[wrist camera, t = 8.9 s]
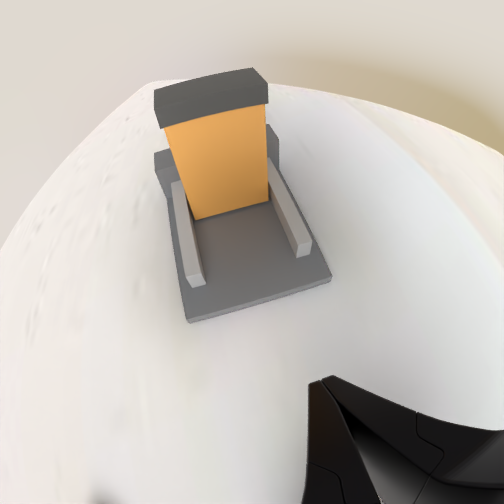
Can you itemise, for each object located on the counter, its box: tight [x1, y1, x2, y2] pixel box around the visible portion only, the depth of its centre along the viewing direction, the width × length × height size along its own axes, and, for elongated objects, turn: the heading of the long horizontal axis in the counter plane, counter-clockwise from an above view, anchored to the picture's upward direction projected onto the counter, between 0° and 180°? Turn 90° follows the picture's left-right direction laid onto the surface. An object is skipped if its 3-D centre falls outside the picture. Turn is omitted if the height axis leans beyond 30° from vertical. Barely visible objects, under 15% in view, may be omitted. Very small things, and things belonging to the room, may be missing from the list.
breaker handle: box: [154, 68, 269, 220], centre depth 21 cm, size 3×7×12 cm, turn 106°
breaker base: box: [154, 124, 332, 323], centre depth 24 cm, size 16×12×5 cm
